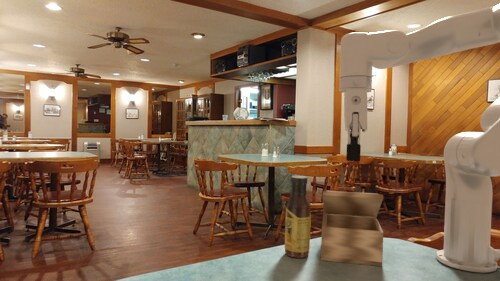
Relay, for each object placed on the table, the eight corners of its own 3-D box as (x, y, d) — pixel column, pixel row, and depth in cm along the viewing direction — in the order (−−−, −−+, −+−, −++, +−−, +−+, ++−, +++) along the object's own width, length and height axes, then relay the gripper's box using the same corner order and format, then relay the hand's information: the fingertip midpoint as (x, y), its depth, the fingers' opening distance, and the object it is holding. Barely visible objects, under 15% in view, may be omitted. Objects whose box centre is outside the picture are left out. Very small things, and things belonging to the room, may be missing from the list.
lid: (376, 217, 96) (376, 213, 96) (383, 198, 84) (382, 193, 84) (323, 213, 99) (323, 209, 99) (322, 195, 87) (323, 190, 88)
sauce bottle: (283, 249, 92) (285, 174, 92) (307, 250, 92) (309, 174, 91) (285, 259, 86) (287, 177, 85) (311, 260, 86) (313, 178, 85)
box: (375, 246, 96) (376, 217, 96) (382, 266, 82) (383, 232, 82) (322, 242, 99) (323, 213, 99) (320, 260, 86) (321, 227, 85)
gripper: (374, 81, 78) (372, 164, 79) (368, 88, 92) (366, 158, 93) (339, 82, 80) (337, 163, 80) (339, 89, 94) (337, 157, 95)
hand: (353, 160), depth 87 cm, fingers closed
